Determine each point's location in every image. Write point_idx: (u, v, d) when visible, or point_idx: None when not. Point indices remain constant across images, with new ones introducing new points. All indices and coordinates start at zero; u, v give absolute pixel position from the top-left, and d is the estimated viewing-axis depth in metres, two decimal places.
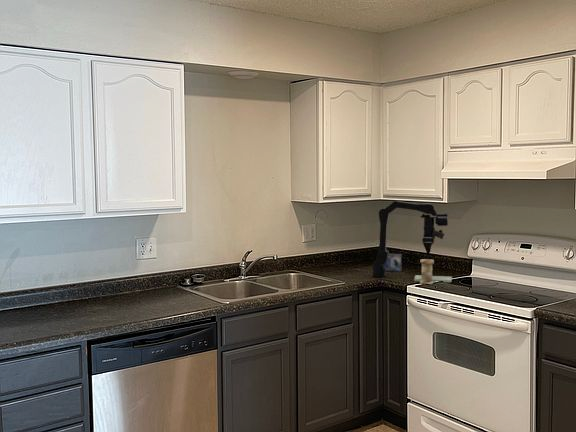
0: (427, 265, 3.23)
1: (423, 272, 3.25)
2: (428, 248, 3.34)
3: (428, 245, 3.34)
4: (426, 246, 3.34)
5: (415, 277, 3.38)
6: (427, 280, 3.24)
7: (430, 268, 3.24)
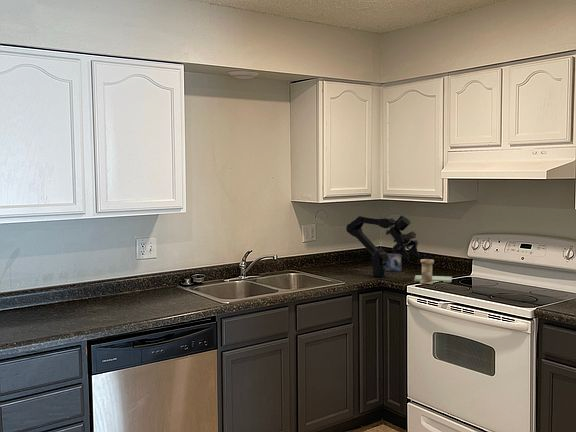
0: (427, 265, 3.23)
1: (423, 272, 3.25)
2: (405, 253, 3.29)
3: (403, 251, 3.30)
4: (402, 253, 3.30)
5: (415, 277, 3.38)
6: (427, 280, 3.24)
7: (430, 268, 3.24)
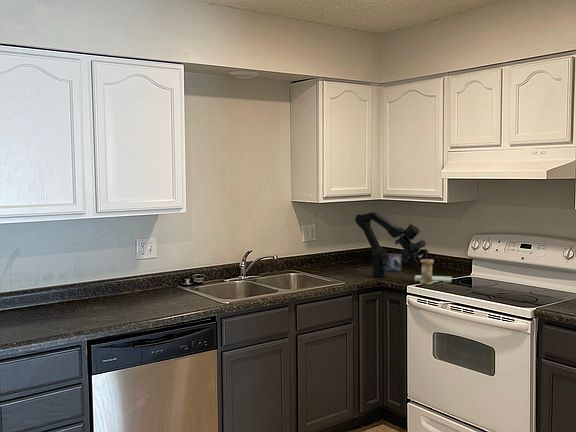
0: (427, 265, 3.23)
1: (423, 272, 3.25)
2: (415, 263, 3.24)
3: (413, 260, 3.25)
4: (412, 262, 3.25)
5: (415, 277, 3.38)
6: (427, 280, 3.24)
7: (430, 268, 3.24)
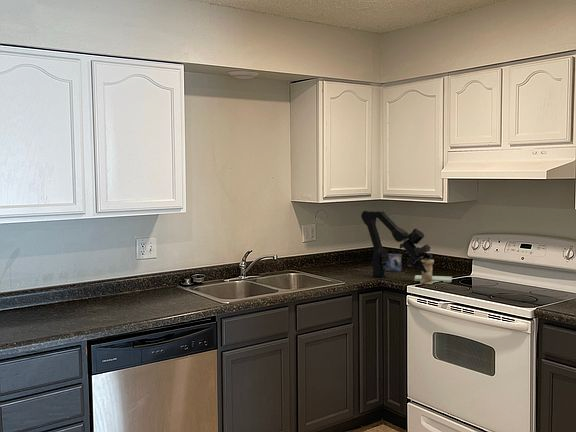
0: (427, 265, 3.23)
1: (423, 272, 3.25)
2: (421, 267, 3.24)
3: (419, 265, 3.24)
4: (418, 267, 3.24)
5: (415, 277, 3.38)
6: (427, 280, 3.24)
7: (430, 268, 3.24)
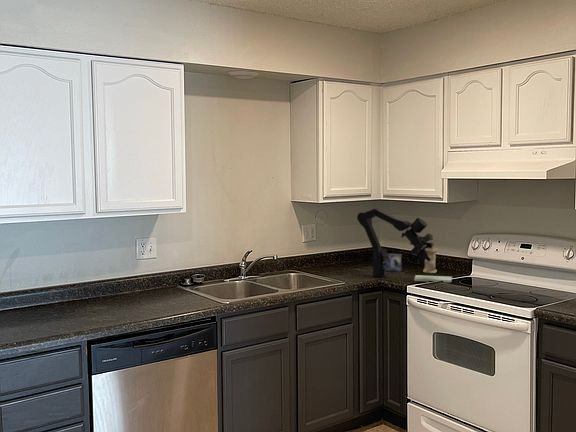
0: (431, 253, 3.26)
1: (427, 261, 3.27)
2: (425, 256, 3.26)
3: (423, 253, 3.27)
4: (422, 255, 3.27)
5: (415, 277, 3.38)
6: (431, 268, 3.27)
7: (434, 257, 3.27)
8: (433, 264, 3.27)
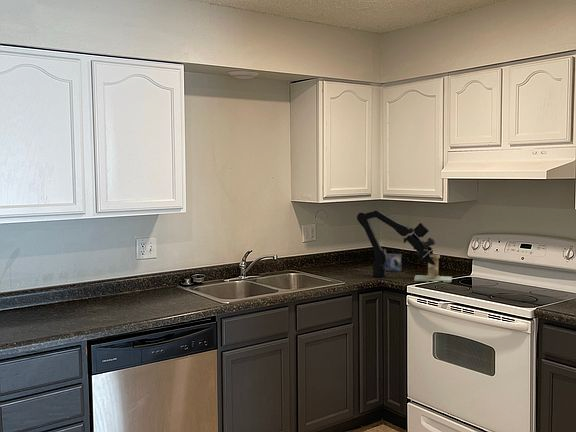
0: (435, 259, 3.34)
1: (431, 267, 3.35)
2: (430, 260, 3.32)
3: (428, 258, 3.32)
4: (427, 260, 3.32)
5: (415, 277, 3.38)
6: (435, 274, 3.35)
7: (437, 263, 3.35)
8: (437, 270, 3.35)
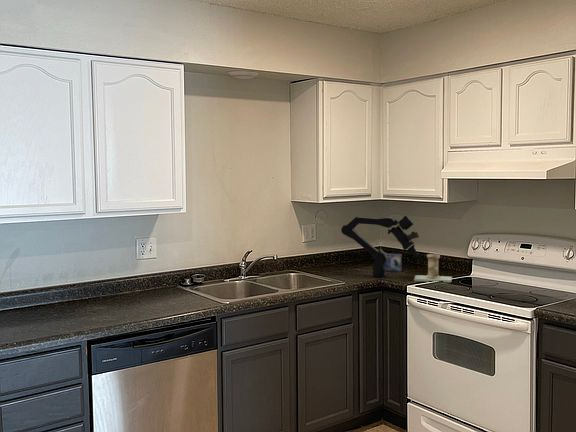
0: (435, 259, 3.34)
1: (431, 267, 3.35)
2: (414, 252, 3.35)
3: (412, 249, 3.36)
4: (411, 251, 3.36)
5: (415, 277, 3.38)
6: (435, 274, 3.35)
7: (437, 263, 3.35)
8: (437, 270, 3.35)
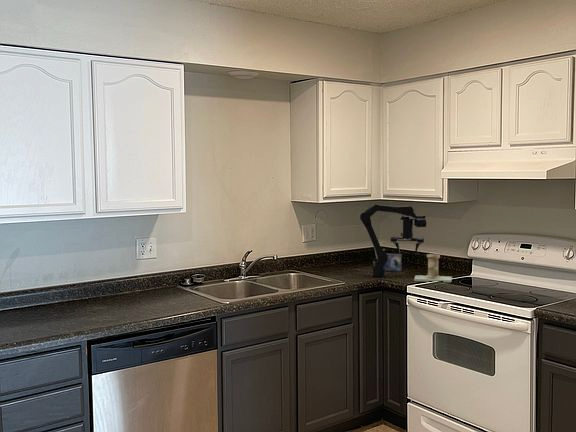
0: (435, 259, 3.34)
1: (431, 267, 3.35)
2: (417, 248, 3.46)
3: None
4: None
5: (415, 277, 3.38)
6: (435, 274, 3.35)
7: (437, 263, 3.35)
8: (437, 270, 3.35)
